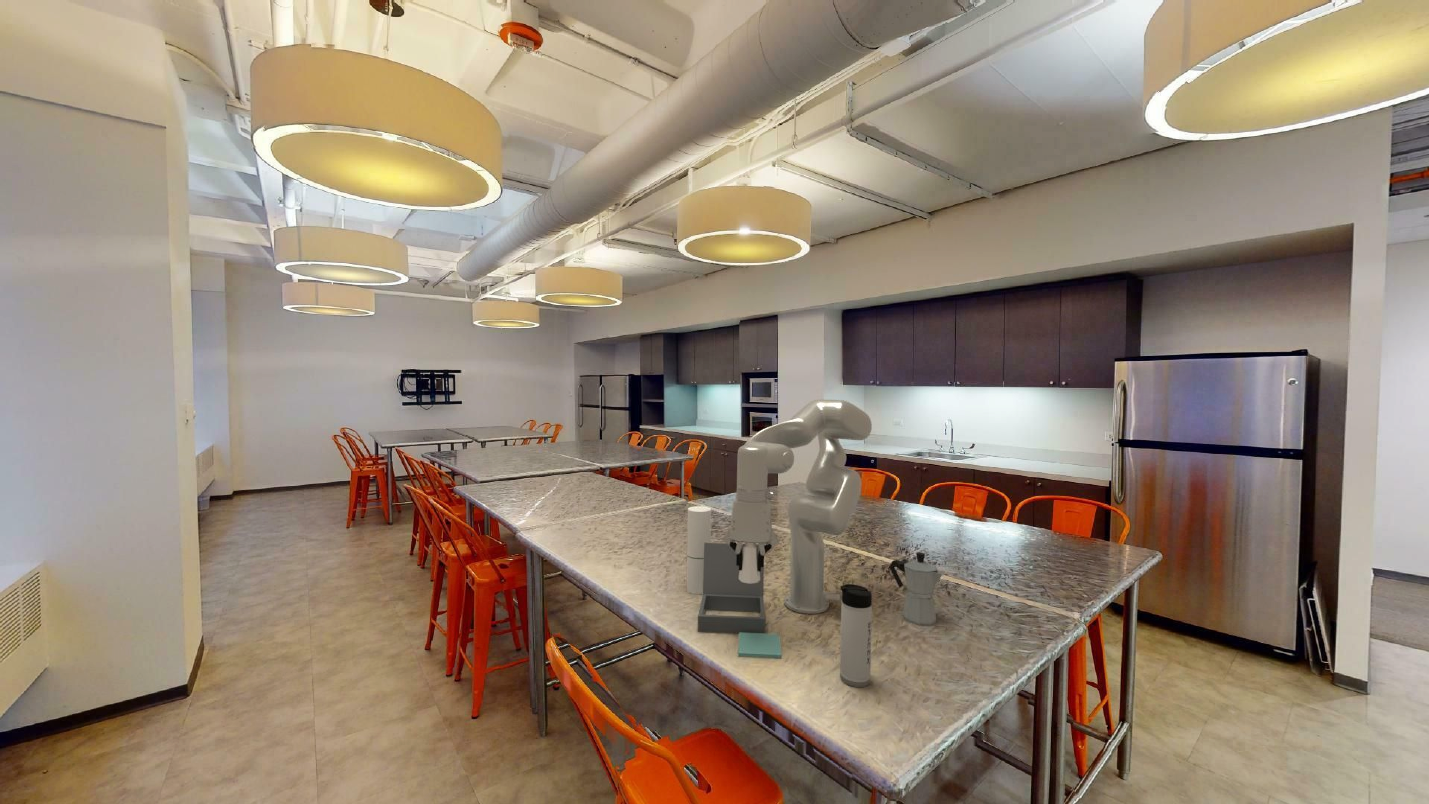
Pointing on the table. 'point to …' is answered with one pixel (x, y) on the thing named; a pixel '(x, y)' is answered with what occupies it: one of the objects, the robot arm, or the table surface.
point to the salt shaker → (749, 564)
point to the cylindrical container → (697, 546)
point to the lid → (726, 573)
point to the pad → (759, 645)
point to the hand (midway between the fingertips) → (750, 568)
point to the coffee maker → (918, 589)
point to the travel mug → (855, 635)
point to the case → (731, 622)
